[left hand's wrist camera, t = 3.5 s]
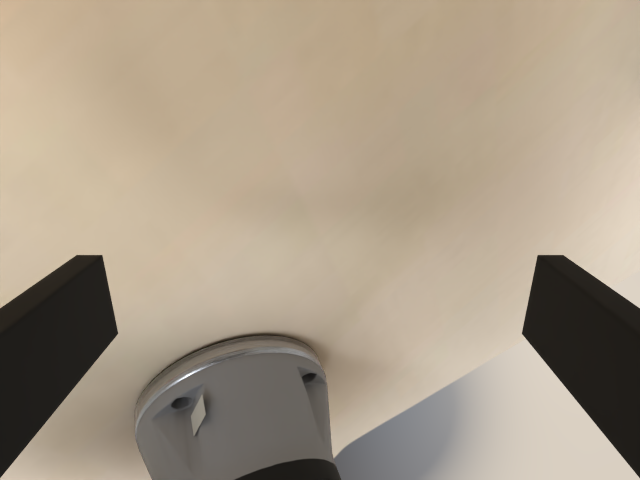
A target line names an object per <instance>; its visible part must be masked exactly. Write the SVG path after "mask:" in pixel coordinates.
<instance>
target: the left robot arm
mask: <svg viewBox="0 0 640 480" xmlns="http://www.w3.org/2000/svg"><path fill="white" fill-rule="evenodd" d="M117 334H118V331H117V326H116V321H115V316H114V311H113V306H112V301H111V296H110V291H109V286H108V281H107V276H106V271H105V267H104V262H103V257H102V255H76V256H75V257H74V258H72V259H71V260H69V261H68V262H66V263H65V264H64V265H62V266H61V267H59V268H58V269H56V270H55V271H53V272H52V273H51V274H49V275H48V276H46V277H45V278H43V279H42V280H40V281H39V282H38V283H36V284H35V285H33V286H32V287H30V288H29V289H28V290H26V291H25V292H23V293H22V294H20V295H19V296H17V297H16V298H15V299H13V300H12V301H10V302H9V303H7V304H6V305H5V306H3V307H2V308H0V478H1V476H2V475H3V474H4V473H5V471H6V470H7V469H8V468H9V467H10V465H11V464H12V463H13V462H14V460H15V459H16V458H17V457H18V456H19V454H20V453H21V452H22V451H23V449H24V448H25V447H26V446H27V444H28V443H29V442H30V441H31V440H32V438H33V437H34V436H35V435H36V433H37V432H38V431H39V430H40V429H41V427H42V426H43V425H44V424H45V422H46V421H47V420H48V419H49V418H50V416H51V415H52V414H53V413H54V411H55V410H56V409H57V408H58V407H59V405H60V404H61V403H62V402H63V400H64V399H65V398H66V397H67V395H68V394H69V393H70V392H71V391H72V389H73V388H74V387H75V386H76V384H77V383H78V382H79V381H80V380H81V378H82V377H83V376H84V375H85V373H86V372H87V371H88V370H89V369H90V367H91V366H92V365H93V364H94V362H95V361H96V360H97V359H98V358H99V356H100V355H101V354H102V353H103V351H104V350H105V349H106V348H107V347H108V345H109V344H110V343H111V342H112V340H113V339H114V338H115V337H116V335H117ZM522 334H523V335H524V337H525V338H526V339H527V340H528V342H529V343H530V344H531V345H532V347H533V348H534V349H535V350H536V351H537V353H538V354H539V355H540V356H541V358H542V359H543V360H544V361H545V362H546V364H547V365H548V366H549V367H550V369H551V370H552V371H553V372H554V373H555V375H556V376H557V377H558V378H559V380H560V381H561V382H562V383H563V384H564V386H565V387H566V388H567V389H568V391H569V392H570V393H571V394H572V395H573V397H574V398H575V399H576V400H577V402H578V403H579V404H580V405H581V406H582V408H583V409H584V410H585V411H586V413H587V414H588V415H589V416H590V417H591V419H592V420H593V421H594V422H595V424H596V425H597V426H598V427H599V429H600V430H601V431H602V432H603V433H604V435H605V436H606V437H607V438H608V440H609V441H610V442H611V443H612V444H613V446H614V447H615V448H616V449H617V451H618V452H619V453H620V454H621V456H622V457H623V458H624V459H625V460H626V462H627V463H628V464H629V465H630V467H631V468H632V469H633V470H634V471H635V473H636V474H637V475H638V476H639V478H640V308H638V307H637V306H635V305H634V304H633V303H631V302H630V301H628V300H627V299H625V298H624V297H623V296H621V295H620V294H618V293H617V292H615V291H614V290H612V289H611V288H610V287H608V286H607V285H605V284H604V283H602V282H601V281H600V280H598V279H597V278H595V277H594V276H592V275H591V274H589V273H588V272H587V271H585V270H584V269H582V268H581V267H579V266H578V265H576V264H575V263H574V262H572V261H571V260H569V259H568V258H566V257H565V256H564V255H538V257H537V262H536V267H535V271H534V276H533V281H532V286H531V291H530V296H529V301H528V306H527V311H526V316H525V321H524V326H523V331H522ZM135 436H136V441H137V444H138V448H139V451H140V453H141V455H142V458H143V460H144V462H145V465H146V467H147V469H148V471H149V474H150V476H151V478H152V480H341V478H340V475H339V473H338V470H337V468H336V464H335V462H334V459H333V455H332V446H331V432H330V418H329V404H328V390H327V382H326V376H325V373H324V371H323V368H322V366H321V364H320V361H319V359H318V357H317V355H316V353H315V352H314V351H313V350H312V349H311V348H310V347H309V346H308V345H306V344H304V343H303V342H300V341H298V340H295V339H292V338H287V337H282V336H267V335H265V336H251V337H243V338H237V339H233V340H229V341H225V342H221V343H218V344H215V345H212V346H209V347H206V348H204V349H201V350H199V351H197V352H194V353H192V354H190V355H188V356H186V357H184V358H183V359H181V360H179V361H177V362H176V363H174V364H173V365H171V366H170V367H168V368H167V369H165V370H164V371H163V372H162V373H160V374H159V375H158V376H157V377H156V378H155V379H154V380H153V381H152V382H151V383H150V384H149V385H148V386H147V387H146V388H145V390H144V391H143V392H142V394H141V396H140V398H139V399H138V402H137V404H136V408H135Z"/></svg>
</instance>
